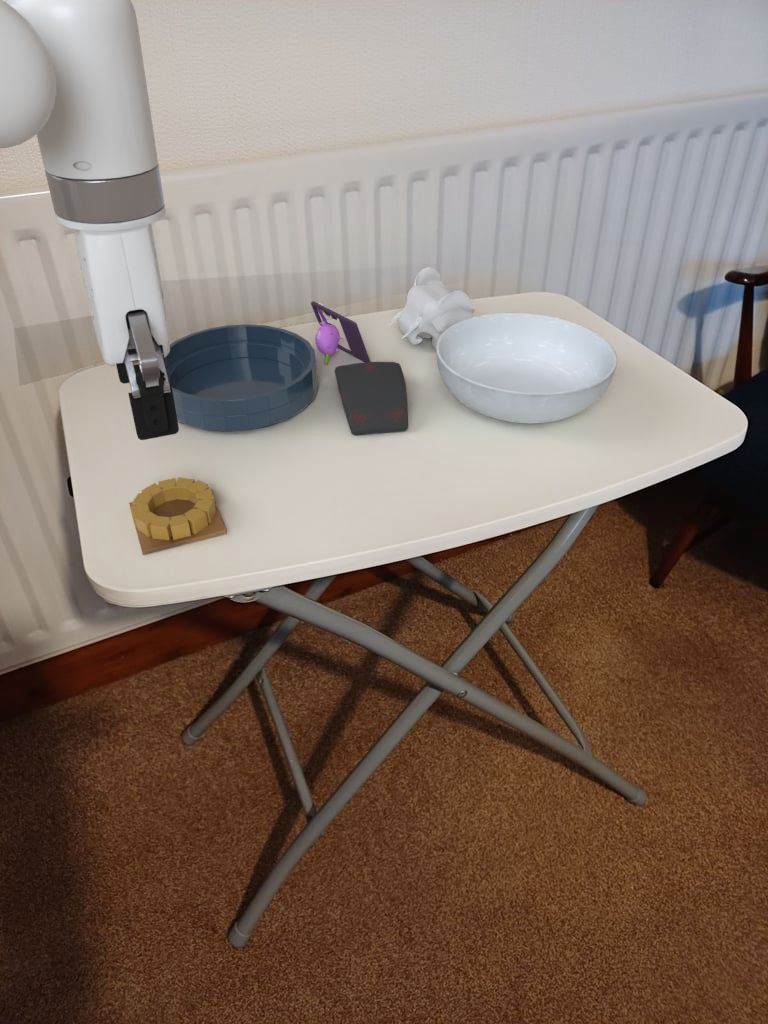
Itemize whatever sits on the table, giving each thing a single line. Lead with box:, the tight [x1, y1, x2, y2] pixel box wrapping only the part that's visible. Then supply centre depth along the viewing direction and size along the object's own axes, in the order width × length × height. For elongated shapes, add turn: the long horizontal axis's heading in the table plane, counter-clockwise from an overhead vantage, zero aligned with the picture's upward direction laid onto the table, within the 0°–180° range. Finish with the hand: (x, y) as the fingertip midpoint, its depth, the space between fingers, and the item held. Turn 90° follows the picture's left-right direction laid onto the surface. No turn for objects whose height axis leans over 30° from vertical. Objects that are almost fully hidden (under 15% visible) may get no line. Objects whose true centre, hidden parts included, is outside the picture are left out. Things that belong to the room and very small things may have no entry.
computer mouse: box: [334, 361, 409, 436], centre depth 93 cm, size 8×14×4 cm, turn 9°
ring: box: [130, 477, 217, 540], centre depth 77 cm, size 8×8×2 cm
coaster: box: [128, 499, 227, 556], centre depth 77 cm, size 8×8×1 cm
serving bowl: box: [435, 311, 619, 424], centre depth 93 cm, size 21×21×7 cm
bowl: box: [163, 323, 319, 432], centre depth 96 cm, size 19×19×4 cm
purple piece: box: [310, 300, 371, 365], centre depth 102 cm, size 7×5×9 cm
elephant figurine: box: [387, 266, 476, 349], centre depth 105 cm, size 10×12×9 cm
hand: (148, 406), depth 66 cm, fingers open, 9 cm apart
